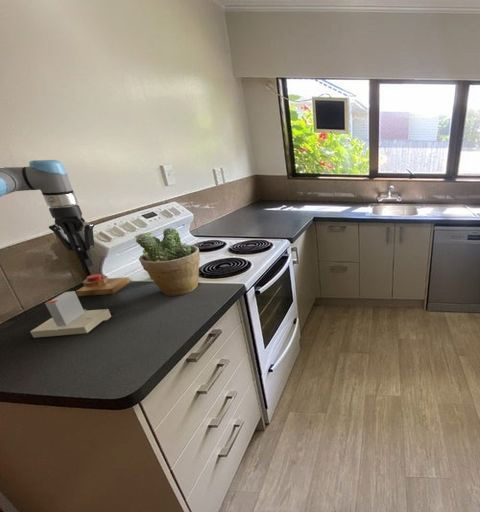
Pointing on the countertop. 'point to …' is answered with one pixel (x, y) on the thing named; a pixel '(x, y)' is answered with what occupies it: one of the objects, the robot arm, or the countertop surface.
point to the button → (94, 277)
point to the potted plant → (170, 262)
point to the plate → (72, 324)
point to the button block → (102, 286)
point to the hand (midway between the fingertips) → (88, 266)
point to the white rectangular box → (65, 308)
